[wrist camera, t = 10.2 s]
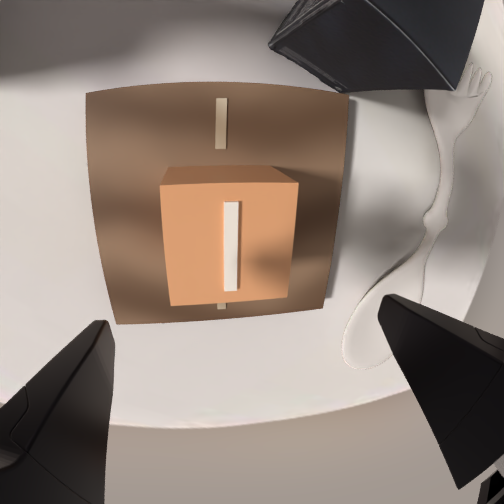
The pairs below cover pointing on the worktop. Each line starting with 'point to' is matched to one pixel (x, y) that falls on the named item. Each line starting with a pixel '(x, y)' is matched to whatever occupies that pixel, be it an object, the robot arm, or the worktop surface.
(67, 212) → the worktop surface
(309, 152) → the base plate
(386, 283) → the spoon
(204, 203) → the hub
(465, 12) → the small box
